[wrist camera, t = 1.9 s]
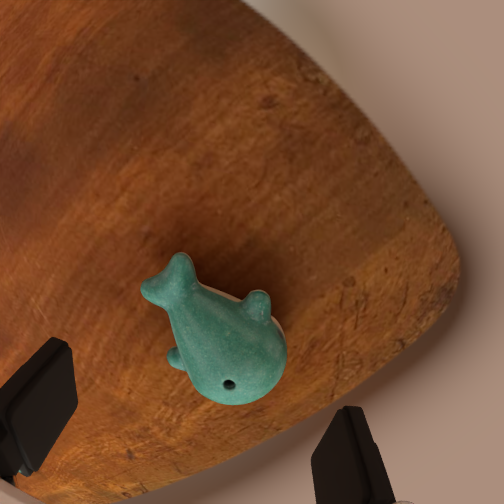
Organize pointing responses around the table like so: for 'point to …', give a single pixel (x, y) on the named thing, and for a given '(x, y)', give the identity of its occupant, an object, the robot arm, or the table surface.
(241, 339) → the whale figurine
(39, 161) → the table surface
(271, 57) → the table surface
